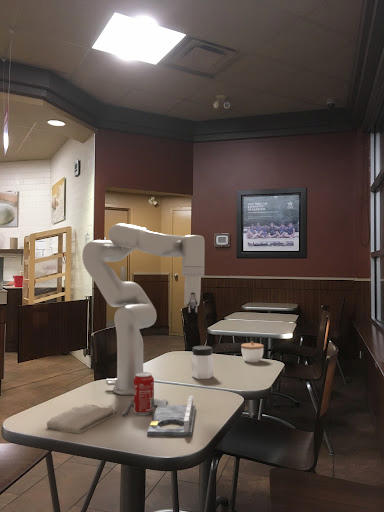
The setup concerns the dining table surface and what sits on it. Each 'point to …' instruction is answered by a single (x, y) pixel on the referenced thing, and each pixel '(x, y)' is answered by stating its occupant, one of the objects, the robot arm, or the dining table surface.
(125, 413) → the grey flat l-shaped piece
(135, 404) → the beverage can
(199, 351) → the jar
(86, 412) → the washcloth
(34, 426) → the dining table surface
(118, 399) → the dining table surface
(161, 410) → the rack
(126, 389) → the robot arm
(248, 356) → the lidded jar
